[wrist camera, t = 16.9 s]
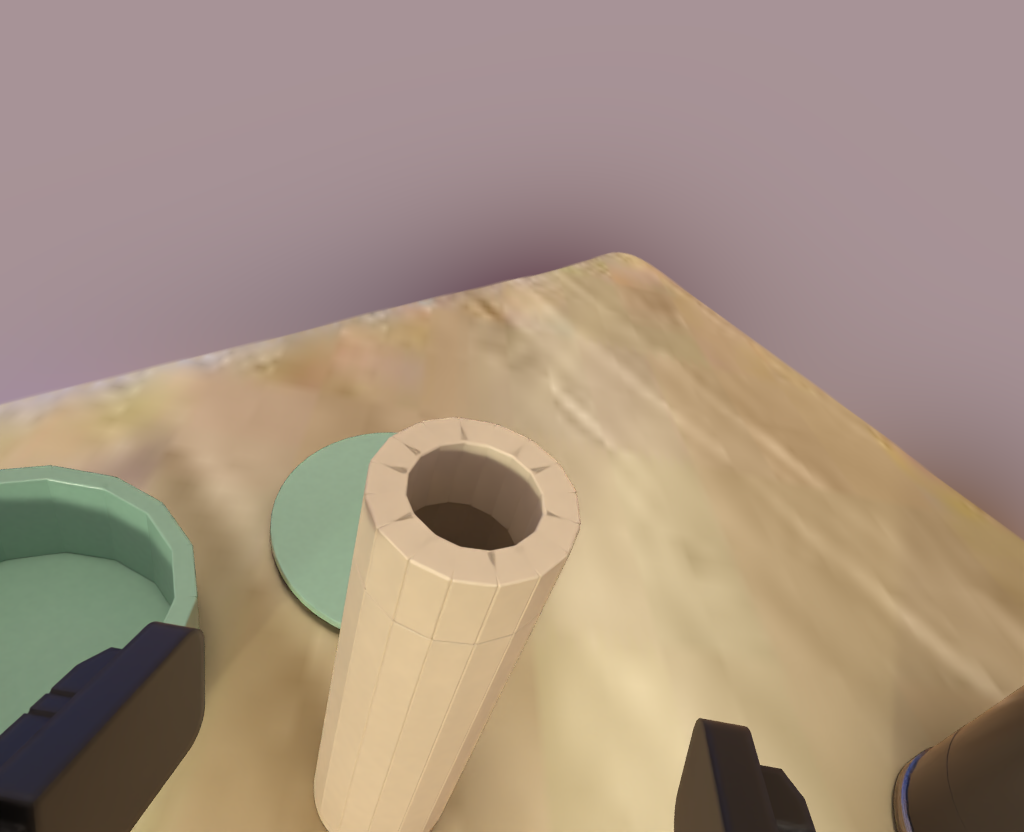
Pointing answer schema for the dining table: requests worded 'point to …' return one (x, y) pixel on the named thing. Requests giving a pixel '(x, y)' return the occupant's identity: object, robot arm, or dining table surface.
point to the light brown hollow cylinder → (436, 614)
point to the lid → (322, 523)
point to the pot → (81, 575)
